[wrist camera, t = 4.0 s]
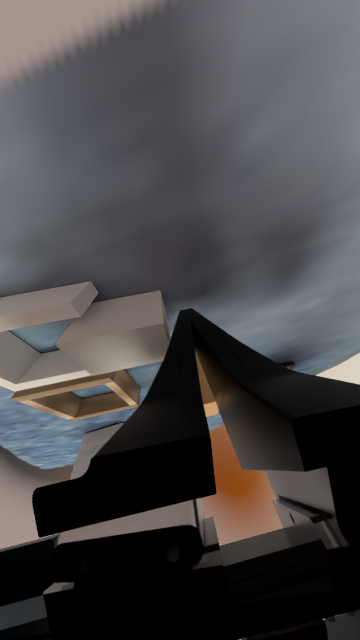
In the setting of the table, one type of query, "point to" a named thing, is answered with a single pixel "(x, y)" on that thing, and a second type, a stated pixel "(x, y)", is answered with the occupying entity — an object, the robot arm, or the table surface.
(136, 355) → the block
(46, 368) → the clip
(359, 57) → the table surface
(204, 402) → the orange block
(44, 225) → the table surface
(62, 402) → the holder
